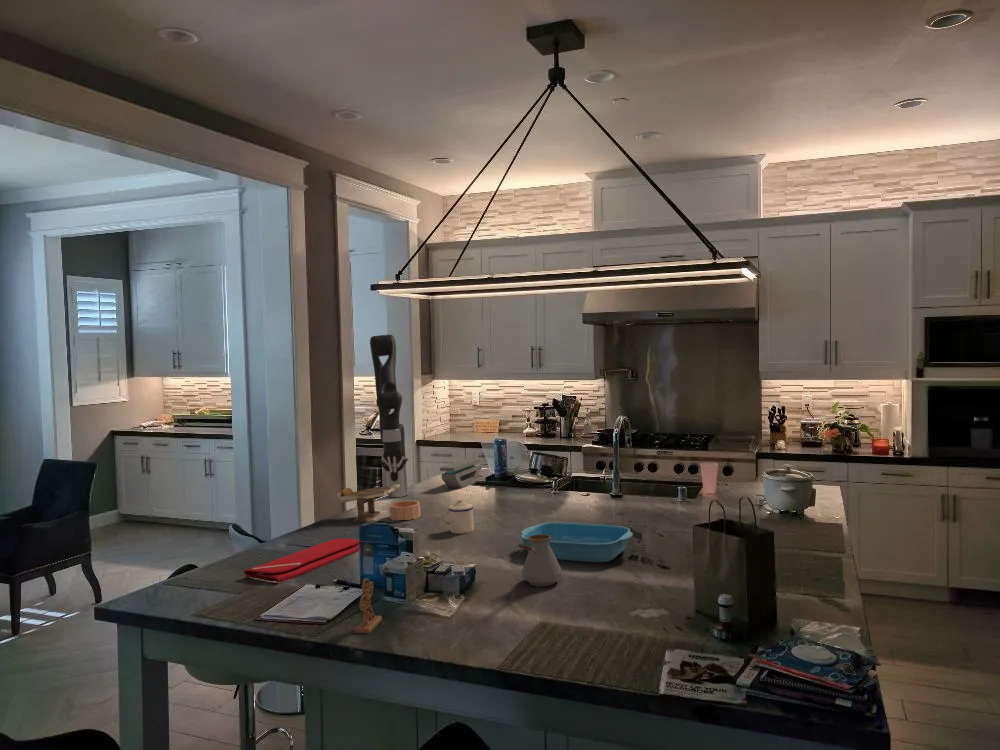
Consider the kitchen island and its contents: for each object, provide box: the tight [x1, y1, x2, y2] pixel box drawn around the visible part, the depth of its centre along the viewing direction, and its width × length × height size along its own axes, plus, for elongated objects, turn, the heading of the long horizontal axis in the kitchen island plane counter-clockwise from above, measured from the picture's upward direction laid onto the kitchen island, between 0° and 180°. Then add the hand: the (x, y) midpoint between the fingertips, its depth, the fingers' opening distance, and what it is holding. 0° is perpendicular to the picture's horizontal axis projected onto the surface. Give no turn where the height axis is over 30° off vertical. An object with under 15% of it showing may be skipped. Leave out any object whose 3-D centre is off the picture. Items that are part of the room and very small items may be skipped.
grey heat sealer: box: [439, 457, 481, 489], centre depth 358 cm, size 25×8×11 cm, turn 153°
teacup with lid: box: [440, 498, 475, 535], centre depth 273 cm, size 12×9×12 cm
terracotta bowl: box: [388, 500, 422, 521], centre depth 299 cm, size 12×12×6 cm
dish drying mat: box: [243, 537, 360, 582], centre depth 245 cm, size 16×41×4 cm, turn 150°
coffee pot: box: [514, 534, 563, 587], centre depth 206 cm, size 21×12×15 cm, turn 156°
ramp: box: [336, 484, 400, 504], centre depth 307 cm, size 18×20×4 cm
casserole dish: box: [520, 521, 634, 563], centre depth 237 cm, size 37×22×7 cm, turn 62°
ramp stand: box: [352, 497, 381, 523], centre depth 302 cm, size 14×6×10 cm, turn 169°
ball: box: [342, 487, 354, 496], centre depth 303 cm, size 4×4×4 cm
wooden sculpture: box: [354, 577, 383, 634], centre depth 186 cm, size 9×4×12 cm, turn 168°
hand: (394, 480), depth 311 cm, fingers closed
